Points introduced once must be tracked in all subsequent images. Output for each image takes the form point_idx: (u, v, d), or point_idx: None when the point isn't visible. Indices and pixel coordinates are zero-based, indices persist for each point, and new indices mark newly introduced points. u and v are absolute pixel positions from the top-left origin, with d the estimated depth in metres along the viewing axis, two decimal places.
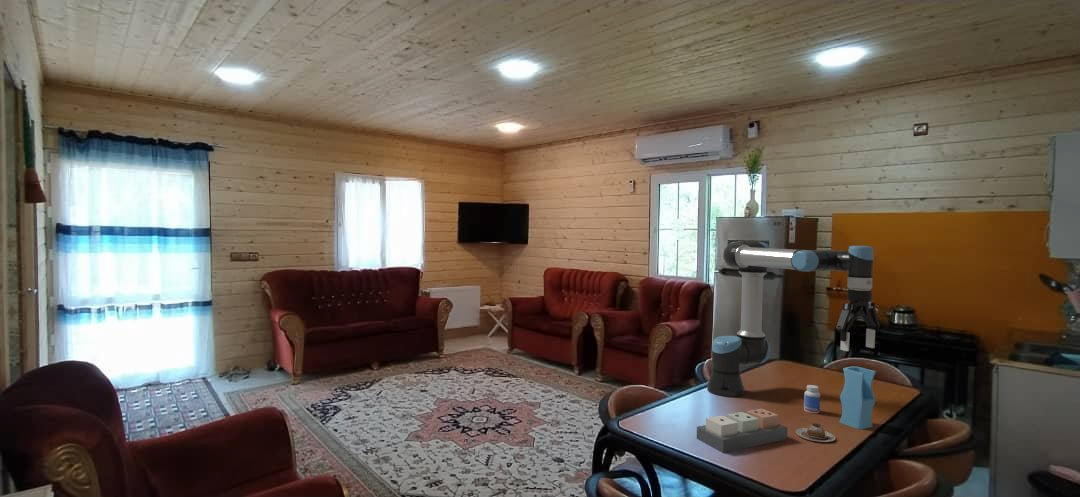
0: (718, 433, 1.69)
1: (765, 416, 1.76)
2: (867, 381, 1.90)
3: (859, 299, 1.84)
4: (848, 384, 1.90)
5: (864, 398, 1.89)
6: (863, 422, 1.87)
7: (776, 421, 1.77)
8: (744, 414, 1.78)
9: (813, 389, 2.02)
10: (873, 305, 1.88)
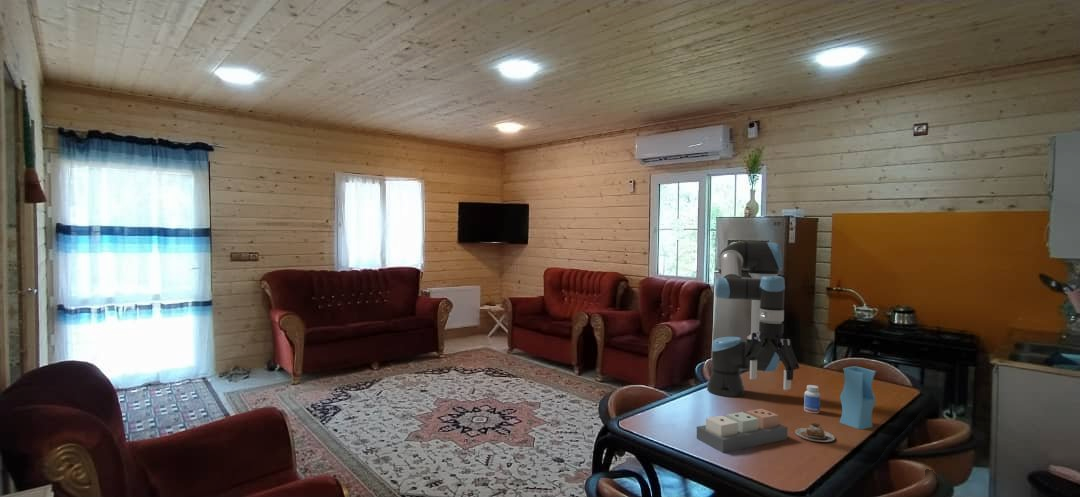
0: (718, 433, 1.69)
1: (765, 416, 1.76)
2: (867, 381, 1.90)
3: None
4: (848, 384, 1.90)
5: (864, 398, 1.89)
6: (863, 422, 1.87)
7: (776, 421, 1.77)
8: (744, 414, 1.78)
9: (813, 389, 2.02)
10: (784, 342, 1.73)
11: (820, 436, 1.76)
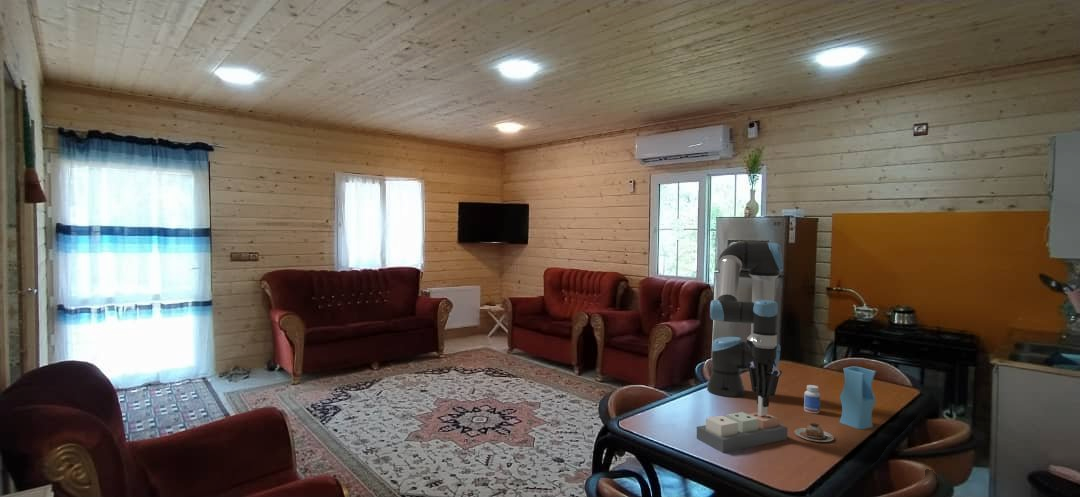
0: (718, 433, 1.69)
1: (765, 419, 1.76)
2: (867, 381, 1.90)
3: None
4: (848, 384, 1.90)
5: (864, 398, 1.89)
6: (863, 422, 1.87)
7: (776, 424, 1.77)
8: (744, 414, 1.78)
9: (813, 389, 2.02)
10: (774, 373, 1.73)
11: (819, 436, 1.76)
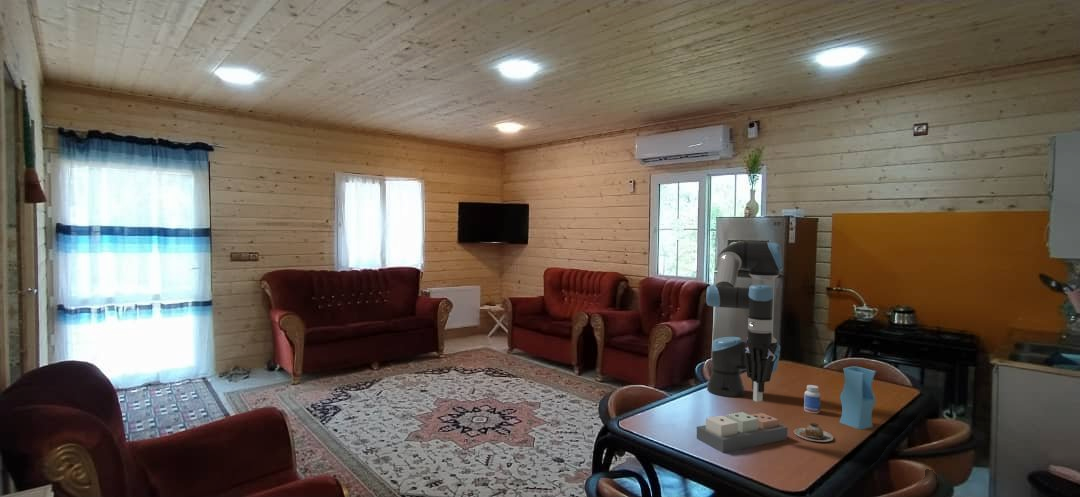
0: (718, 433, 1.69)
1: (765, 420, 1.76)
2: (867, 381, 1.90)
3: None
4: (848, 384, 1.90)
5: (864, 398, 1.89)
6: (863, 422, 1.87)
7: (776, 425, 1.77)
8: (744, 414, 1.78)
9: (813, 389, 2.02)
10: (769, 357, 1.72)
11: (819, 436, 1.76)
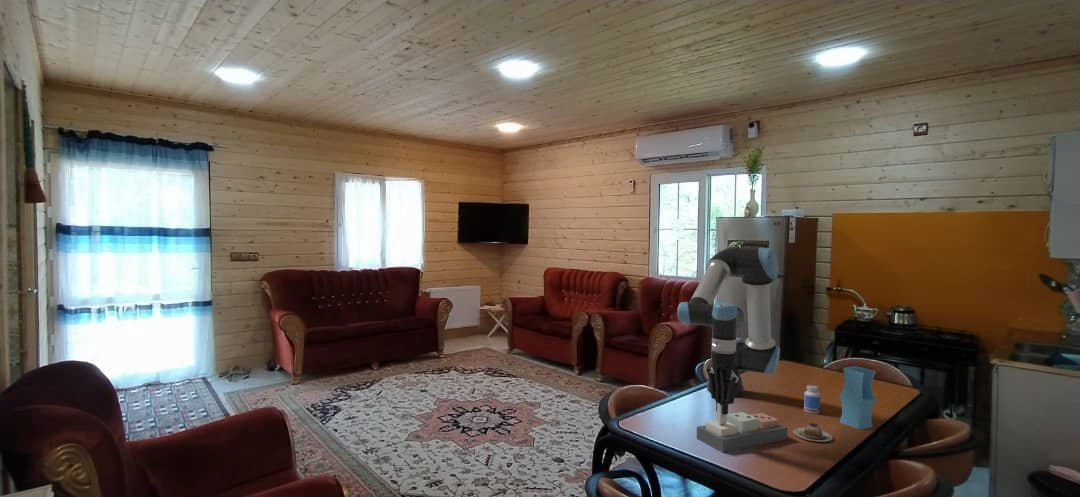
0: None
1: (765, 420, 1.76)
2: (867, 381, 1.90)
3: None
4: (848, 384, 1.90)
5: (864, 398, 1.89)
6: (863, 422, 1.87)
7: (776, 425, 1.77)
8: (744, 414, 1.78)
9: (813, 389, 2.02)
10: (732, 379, 1.66)
11: (818, 436, 1.77)
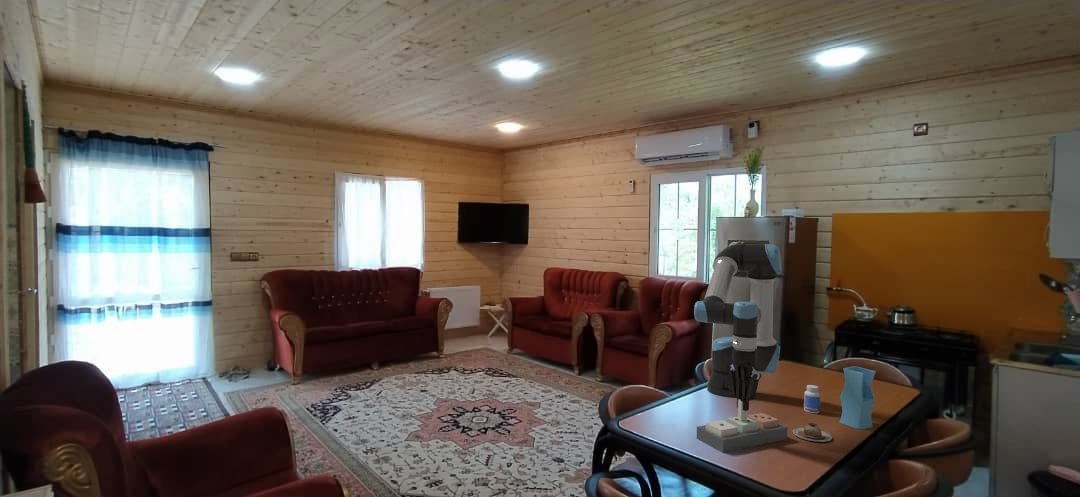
0: None
1: (765, 420, 1.76)
2: (867, 381, 1.90)
3: None
4: (848, 384, 1.90)
5: (864, 398, 1.89)
6: (863, 422, 1.87)
7: (776, 425, 1.77)
8: None
9: (813, 389, 2.02)
10: (753, 376, 1.70)
11: (817, 436, 1.77)
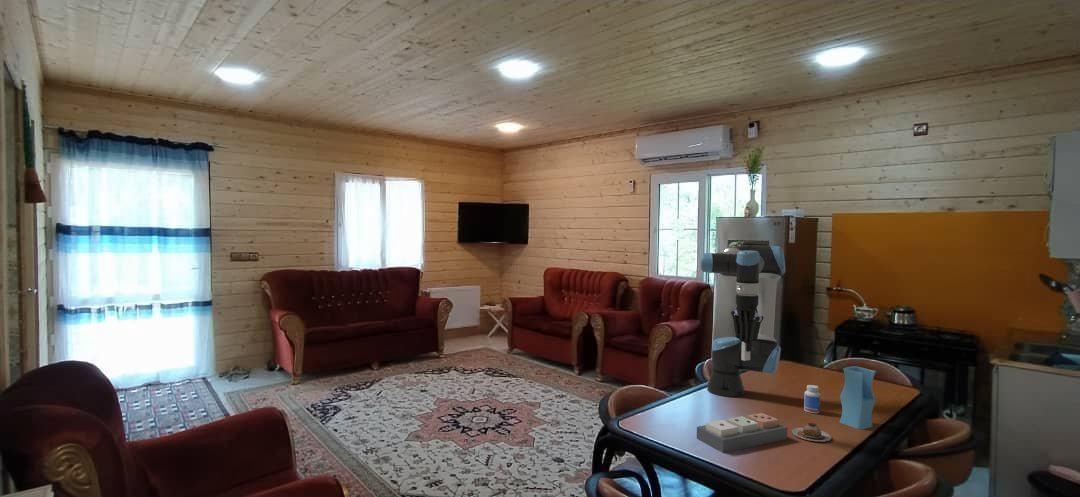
0: None
1: (765, 420, 1.76)
2: (867, 381, 1.90)
3: None
4: (848, 384, 1.90)
5: (864, 398, 1.89)
6: (863, 422, 1.87)
7: (776, 425, 1.77)
8: (744, 418, 1.78)
9: (813, 389, 2.02)
10: (755, 318, 1.82)
11: (817, 436, 1.77)
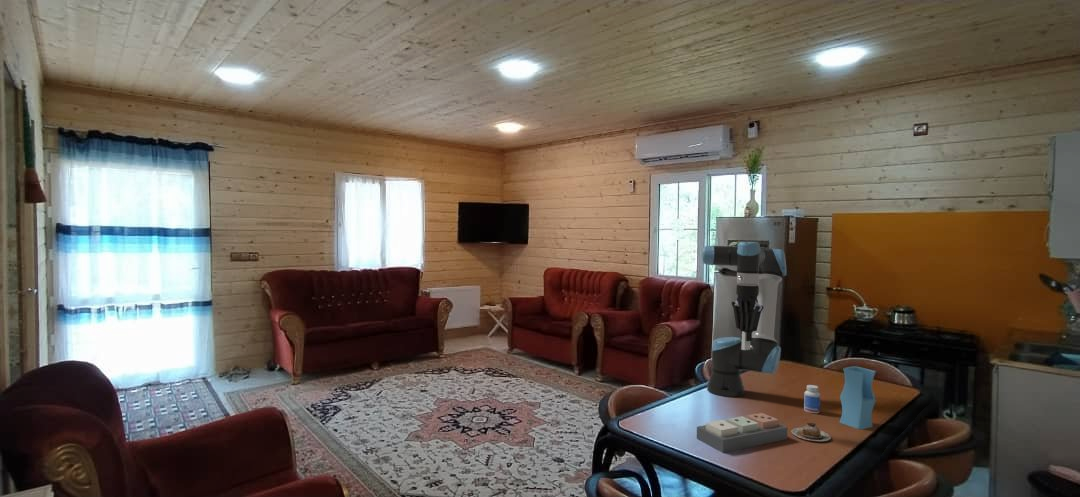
0: None
1: (765, 420, 1.76)
2: (867, 381, 1.90)
3: None
4: (848, 384, 1.90)
5: (864, 398, 1.89)
6: (863, 422, 1.87)
7: (776, 425, 1.77)
8: (744, 418, 1.78)
9: (813, 389, 2.02)
10: (756, 308, 1.85)
11: (816, 436, 1.77)
